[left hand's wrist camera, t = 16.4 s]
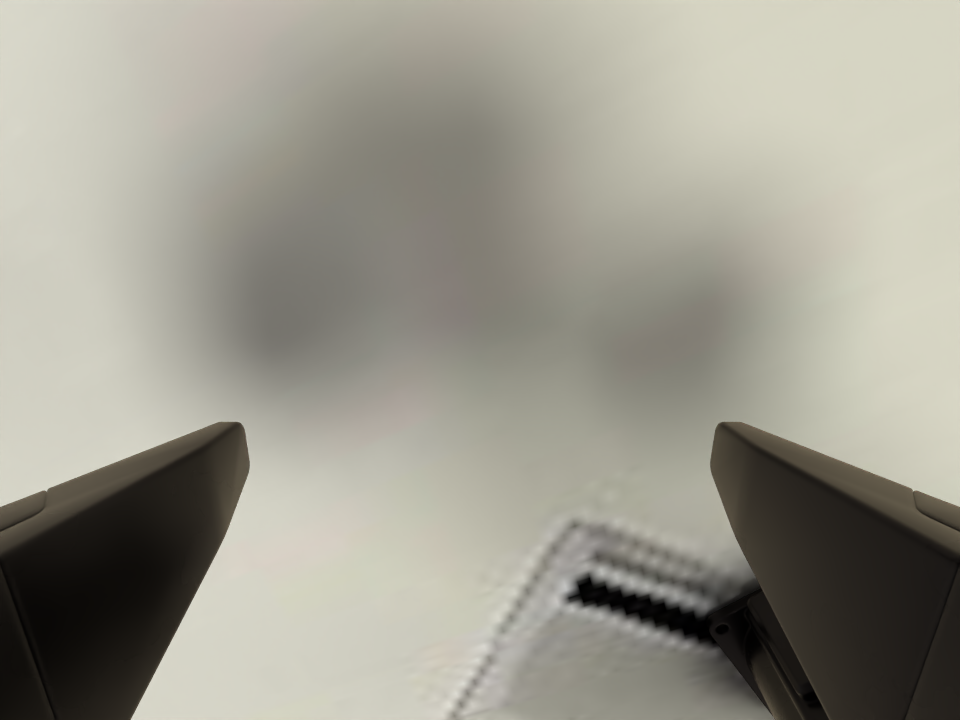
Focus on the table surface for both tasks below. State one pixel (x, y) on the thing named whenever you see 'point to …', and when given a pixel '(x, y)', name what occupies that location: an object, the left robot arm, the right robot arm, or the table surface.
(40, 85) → the table surface
